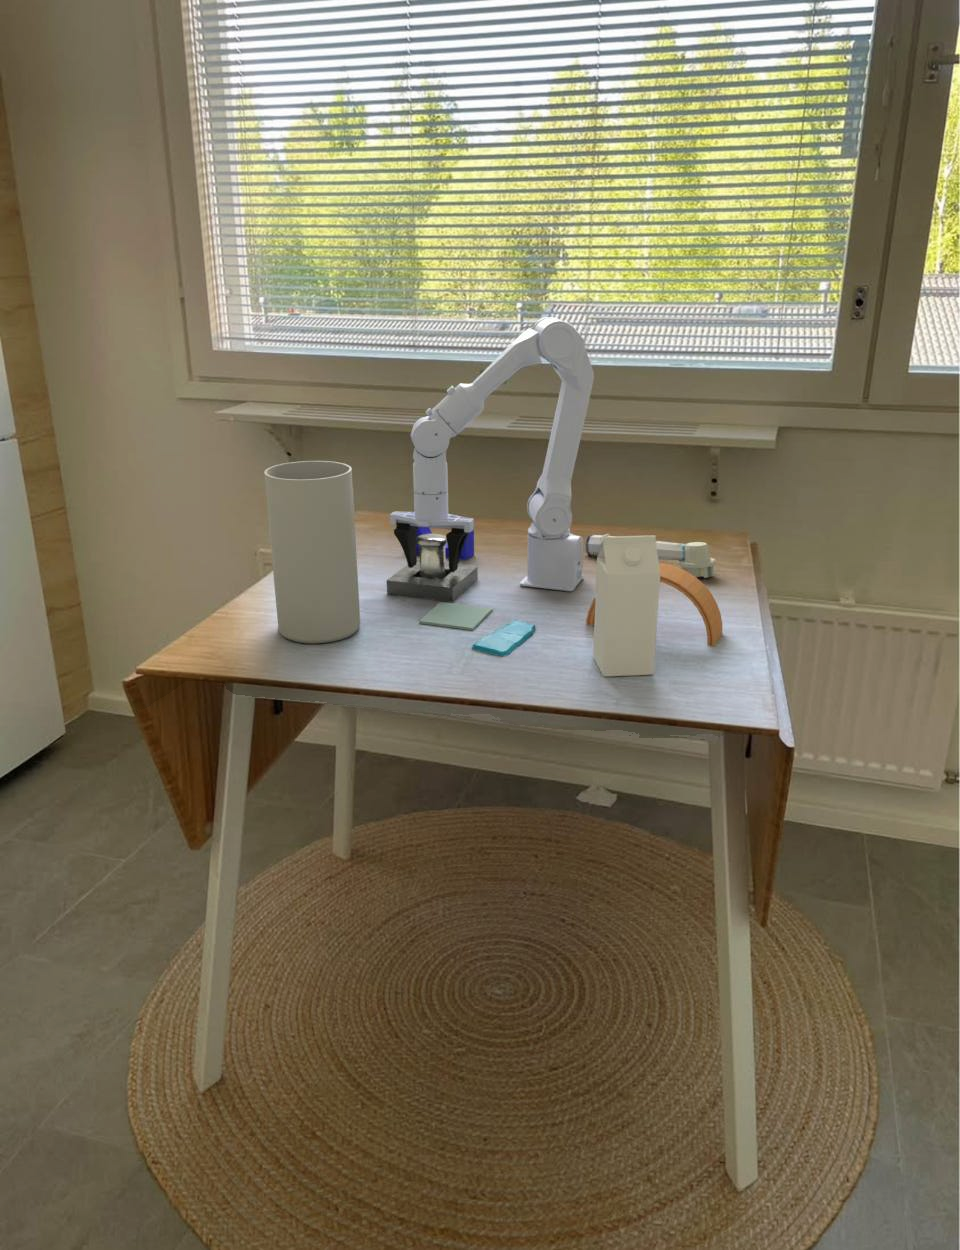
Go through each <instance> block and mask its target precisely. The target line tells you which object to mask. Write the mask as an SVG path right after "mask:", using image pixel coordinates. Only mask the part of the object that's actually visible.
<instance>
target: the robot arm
mask: <svg viewBox="0 0 960 1250" xmlns="http://www.w3.org/2000/svg"><path fill="white" fill-rule="evenodd" d="M541 357H542V358H543V359H544V360H546V361H547V362H548V363H549V364H550V365H551V367H552V368H553V370H554V371H555V372H556V374H557V375H558V377H559V378H560V380H561V384H560V390H559V394H558V399H557V403H556V408H555V413H554V418H553V422H552V426H551V427H552V428H551V432H550V437H549V440H548V446H547V450H546V454H545V455H546V456H545V458H544V459H545V460H544V464H543V469H542V474H541V475H540V477H539V479H538V480H537V483H536V487H535V489H534V492H533V493H532V494H531V495H530V496H529V498H528V501H527V503H526V504H527V505H526V511H527V514H528V516H529V518H530V519H531V520H532V522H531V524H530V526H529V527H528V528H527V563H526V564H527V569H526V572H527V575H526V576H525V577H524V578H523V579H521V581H520V582H519V586H521V587H529V588H538V589H548V590H557V591H563V592H572V591H574V590H575V589H576V587H577V586H578V585H579V584H580V582H581V581H582V580H583V579H584V575H583V571H584V570H583V568H584V567H583V565H584V539H583V536H581V535H575V534H573V533H571V530H570V527H572V523H573V514H572V510H571V501H572V497H573V496H572V495H573V494H572V478H573V474H574V469H575V465H576V460H577V456H578V451H579V447H580V442H581V438H582V434H583V429H584V425H585V420H586V415H587V413H588V412H587V411H588V406H589V403H590V397H591V394H592V390H593V389H592V388H593V386H594V385H593V384H594V380H595V373H594V370H593V366H592V363H591V360H590V357H589V354H588V352H587V349H586V344H585V339H584V338H583V336H582V335H581V334H580V333H579V332H578V331H577V329H576V328H575V327H574V326H573V325H572V324H570V323H569V322H567V321H565V320H564V321H563V320H561V319H559V318H557V317H554V316H546V317H542V318H540V319H538V320H537V321H536V322H535V323H534V325H532V328H528V329H526V330H525V331H523V332H522V333H521V334H520V335H518V337H516V339H515V340H513V341H512V342H511V343H510V344H509V345H508V346H507V347H506V348H505V349H504V350H503V351H502V352H501V353H500V354H499V355H498V356H497V357H496V359H494V360H493V361H492V362H491V363H490V365H488V366H487V367H486V369H484V370H483V371H482V373H480V375H478V376H477V377H476V378H475V379H474V380H473V381H472V382H471V383H459V384H458V385H457V386H455V387H454V386H453V385H451V386H450V387H448V388H447V390H446V392H447V395H446V396H445V397H444V398H442V399H441V400H440V402H438V403H437V404H436V405H435V406H434V407H433V408H430V407H429V408H428V409H427V410H426V411H425V414H426V416H423V417H420V418H419V419H417V420H416V421H415V422H414V423H413V426H412V429H411V432H410V436H409V437H410V439H411V442H412V444H413V446H414V448H413V453H412V459H413V461H414V462H413V463H412V476H413V478H412V479H413V501H414V502H413V509H414V511H393V512H392V513H390V514H389V517H390V519H389V520H390V522H389V523H390V526H395V529H393V534H394V536H395V537H396V539H397V540H398V542H399V544H400V546H401V548H402V550H403V553H404V555H405V556H404V557H405V559H406V564H407V565H408V567H409V568H412V567H414V566H415V565H416V564H417V560H418V554H417V550H416V538H417V530H418V526H419V527H429V528H430V529H441V530H450V531H449V532H448V533H446V534H445V536H446V539H447V544H448V550H449V557H448V563H449V572H455V571H456V570H457V568H458V564H459V562H460V559H459V558H460V554H461V551H462V548H463V545H464V543H465V541H466V539H467V537H468V535H469V533H470V532H471V531H473V530H474V531H475V524H474V523H475V520H474V518H472V517H471V518H470V517H465V516H459V515H457V514H456V515H455V514H452V513H451V514H450V513H449V481H448V480H449V475H448V474H449V473H448V472H449V471H448V462H447V450H448V448H449V445H450V439H452V438H454V437H456V436H457V435H458V434H459V433H461V432H462V431H463V430H464V429H466V427H467V426H468V425H470V423H472V422H473V421H474V420H475V419H476V418H477V417H479V415H480V414H481V413H482V412H483V411H484V409H485V399H486V398H487V397H489V396H490V395H491V394H492V393H493V392H494V391H495V390H497V389H498V388H499V387H500V386H501V385H503V384H504V383H505V382H506V381H508V379H510V378H511V377H512V376H513V375H514V374H515V373H517V372H518V371H519V370H520V369H521V368H523V367H528V366H534V365H541V364H543V362H542V359H541Z"/></svg>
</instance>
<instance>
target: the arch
mask: <svg viewBox="0 0 960 1250" xmlns="http://www.w3.org/2000/svg"><path fill="white" fill-rule="evenodd" d="M659 566H660V583H662V584H663V583H664V584H666V585H668V586H670V587H673V588H674V589H675V590H677V591H679V592H680V593H682V594H683V595H684V596H685V597H687V598H688V599H689V600H690V601H691V603H692V604H693V605H694V606H695V607H696V609H697V610H698V612H699V614H700V616H701V618H702V619H703V623H704V626H705V630H706V636H707V638H706V640H707V641H706V645H707V646H708V647H709V646H712V647H714V646H715V645H716V643H717V642H718V640H719V639H720V638H721V636H722V635H723V621H722V620H723V619H722V615H721V610H720V607H719V605H718V603H717V601H716V600H715V598H714V596H713V593H711V591H710V590H709V588H708V587H707V586H706V585H705V584H704V583H703V582H702V581H701V580H700V579H698V577H697V578H696V577H695V576H693V575H692V574H690V573H689V572H687V571H685V570H683V569H682V567H681V568H680V567H679V566H675V565H671V564H669V563H664V562H659ZM595 598H596V596H595V597H594V599H593V600H592V602H591V604H590V607H589V609H588V612H587V616H586V621H585V626H591V627H592V626H593V625H594V622H595ZM593 627H594V626H593Z"/></svg>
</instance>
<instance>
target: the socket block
mask: <svg viewBox="0 0 960 1250" xmlns="http://www.w3.org/2000/svg"><path fill="white" fill-rule="evenodd" d="M445 563H446V577H445V578H444V579H442V580H438V579H429V578H420V559H417V564H416V565H415V566H414V567H412V568H409V567H408V564H407V565H406V566H404V567H402V569H400V570H399V571H397V572H396V573H394V574H393V575H391V576H390V577H389V578H387V579H386V580H385V581H386V594H387V595H390V594H394V595H393V596H398V595H400V596H399V597H406V598H415V599H423V600H424V599H425V600H431V601H440V602H445V603H454V602H455V601H456V600H457V599H458V598H459V597H460V596H462V595H463V594H464V593H465V592H466V591H467V590H468V589H469V588H470V587H472V586H473V585H474V584H475V583H476V582H477V581H478V580H479V579H478V574H479V573H478V570H479V569H478V568H479V567H478V566H477V565H469V564H459V563H458V568H457V570H456V571H455V572H449V562H445Z"/></svg>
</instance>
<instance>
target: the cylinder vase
mask: <svg viewBox="0 0 960 1250" xmlns="http://www.w3.org/2000/svg"><path fill="white" fill-rule="evenodd" d="M352 470H353V469H352V466H351V465H348V464H347V463H343V462H339V461H338V462H337V461H330V460H303V461H294V462H293V461H292V462H285V463H281V464H276V465H273V466H269V467H268V468H266V469H265V470H264V472H263V473H264V485H265V493H266V495H265V496H266V507H267V516H268V529H269V539H270V551H271V560H272V561H271V562H272V572H273V573H272V574H273V584H274V594H275V595H274V596H275V604H276V605H275V606H276V616H277V629H278V631H279V633H280V635H281V636H283V637H284V638H286V639H287V640H289V641H292V642H296V643H301V644H314V645H315V644H327V643H332V642H337V641H340V640H344V639H346V638H348V637H350V636H352V635H354V634H355V633H356V632H357V631H358V630H359V628H360V625H361V612H360V593H359V591H360V590H359V576H358V557H357V537H356V524H355V522H356V521H355V519H356V518H355V503H354V486H353V483H354V482H353V471H352Z"/></svg>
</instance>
